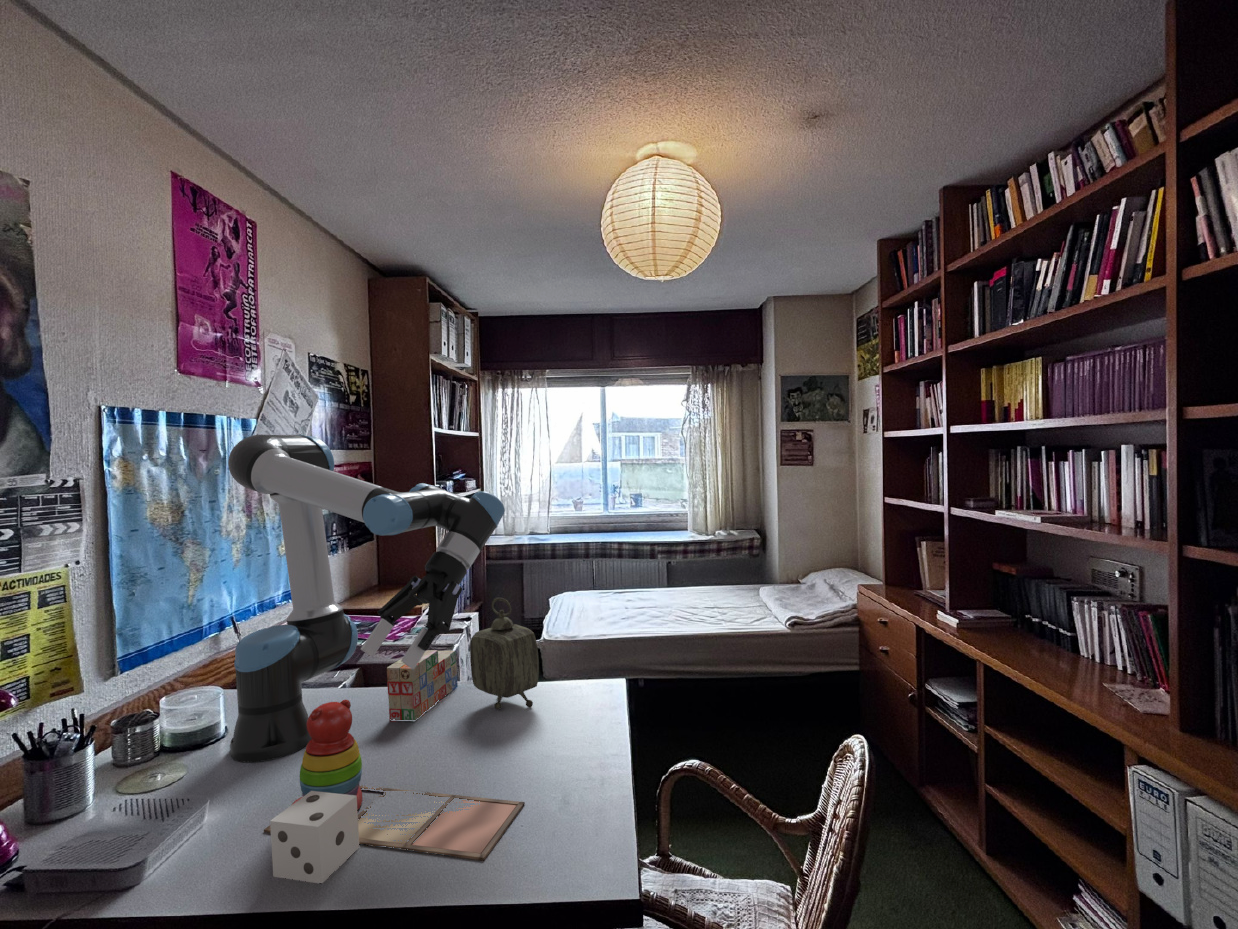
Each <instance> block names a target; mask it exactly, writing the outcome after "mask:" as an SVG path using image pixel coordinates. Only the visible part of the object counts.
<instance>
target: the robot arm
mask: <svg viewBox="0 0 1238 929" xmlns="http://www.w3.org/2000/svg"><path fill="white" fill-rule="evenodd" d="M231 449H232V450H230V453H229V456H228V460H227V466H228V470H229V473H230V475H231V477H232V478H233V479H234V481H235V482H236V483H237V484H239V485H240V486H241V487H244V488H246V489H249V490H250V491H254V492H258V493H260V494H263V495H269V498H270V499H271V500H273V501H274V502H276V503H277V505H278V507H279V516H280V523H281V530H282V531H281V532H282V538H283V539H282V540H283V546H284V553H285V557H286V558H285V559H286V561H285V562H286V567H287V574H288V582H289V587H290V588H289V589H290V596H291V603H292V611H291V612H290V614H289V615H288V616H287V618H286V624H278V625H272V626H269V627H267V628H260V629H258V630H256V631H253V632H251V633H248V635H245V636H244V637H243V638H241V639H240V640H239V641H238V642H237V644H236V646H235V650H234V655H235V656H234V658H235V659H234V664H233V666H234V670H235V679H236V681H235V682H236V696H237V697H236V698H237V712H238V714H237V719H236V721H235V722H236V723H235V726H234V729H233V736H232V738H231V739H230V743H229V750H230V751H229V753H230V758H231V759H232V760H233V761H236V762H241V763H260V762H265V761H270V760H275V759H279V758H282V757H286V756H288V755H291V754H293V753H296V752H297V751H299V750H302V749H303V748H306V746H307V744H308V743H309V741H310V740H311V739H312V738H311V736H310V735H309V733H308V730H307V720H308V718H309V715H308V712H307V709H306V707H305V704H304V702H303V688H302V684H303V683H304V682H306V681H308V680H310V679H313V678H314V677H317V676H319V675H322V674H324V673H326V672H328V671H332V670H335V669H337V668H339V666H341V665H342V664H345V663H346V662H347V661H348V660H350V659H351V657H352V656H353V654H354V653H355V651H356V648H357V647H358V640H359V632H358V628H357V625H356V623H355V622H354V621H352V618H351V617H350V616H349V615H347V614H345V613H344V607H343V606H342V605H340V604H339V603H337V602H336V601H335V595H334V587H333V580H332V572H331V566H330V557H329V551H328V544H327V536H326V529H325V520H324V514H323V510H327V511H329V512H331V513H335V514H338V515H341V516H343V517H347V518H350V519H352V520H355V521H358V522H361V523H364V525H365V526H366V528H367V529H368V530H369V532H370V533H372V534H374V535H377V536H395V535H399V534H401V533H405V532H406V533H407V532H411V531H414V530H419V529H424V528H430V527H436V528H437V527H438V528H440V529H442V530H446V531H448V532H447V533H446V534H445V535H444V537H443V538H442V540H441V541H440V543H439V544H438V545H437V547H436V551H434V552H433V553H432V554H431V556H430V557H429V559H428V560H427V562H426V564H425V565H424V570H425V571H426V572H425V575H424V576H423V577H422V578H419V577H418V576H417V575H413V576H412V577H411V578H410V580H409V581H408V582H407V583H406V585H405V586H403V587H402V588H401V589H400V590H399V591H398V592H397V593H396V594H394V596H392V597H391V598H390V599H389V600H388V601H387V602H386V603H385V604H384V605H383V606H382V607H381V608H379V610H377V615H378V616H379V617H380V620H379V621H378V622H377V624H376V626H375V627H374V628H373V629H372V631H371V633H370V634H369V635H368V637H367V639H366V640H365V642H364V643H363V644H362V646H360V650H361V651H362V652H364V653H365V654H366V655H368V656H369V657H372V658H374V656H375V655H376V653H377V652H378V650H379V648H380V647H381V646H382V644H383V643H384V641H385V640H386V639H387V637H388V635H389V634H390V633H391V631H392V629H393V628H394V627H395V622H397V621H398V620H399V619H401V618H402V617H403V616H405V615H406V614H407V613H409V612H411V611H412V610H413V609H414V608H416V607H417V606H418V607H419V606H422V605H428V611H427V612H428V613H427V622H426V623H425V624H423V625H424V627H422V628H421V629H420V631H419V632H418V634H417V635H416V637H415V638H414V640H413V642H412V643H411V645H410V646H409V648H408V649H407V651H406V652H405V653H404V655H403V657H402V658H401V659H402V660H401V661H402V662H403V663H404V664H406V665H407V666H408V667H410V668H411V669H415V667H416V665H417V664H418V662H419V661H420V659H421V658H422V656H423V654H424V653H425V651H426V650H429V648H430V647H431V645H432V643H433V642H434V640H435V638H436V637H437V636H440V634H442V633H443V634H444V635H445V634H448V633H449V631H450V629H451V625H452V622H453V618H454V614H455V610H456V607H457V603H458V600H459V599H458V598H460V595H461V593H462V592H463V587H462V586H460V585H461V583H462V581H463V580H464V578H465V577H466V575H467V573H468V572H467V570H470V568H471V566H473V564H474V563H475V561H476V559H477V557H478V556H479V554H480V553H481V551H482V549H483V547H484V546H485V545H486V544H487V542H488V540H489V539H490V537H491V536H492V534H493V533H494V531H495V530H496V529H497V528H498V526H499V524H500V522H501V520H502V518H503V517H504V515H505V511H506V509H505V506H504V504H503V502H502V501H501V499H500V498H498V497H497V496H495V495H494V494H492V493H490V492H488V491H484V490H482V491H481V490H478V491H476V492H475V493H474V494H473V495H472V496H471V497H470V498H468V497H466V496H461V495H459V494H456V493H453V492H450V491H448V490H446V489H443V488H440V487H438V486H437V485H431V484H427V483H424V482H422V483H418V484H417V483H416V485H415V486H414V487H412V488H411V489H409V491H405V492H400V491H396V490H393V489H389V488H387V487H383V486H380V485H378V484H374V483H372V482H368V481H364V480H362V479H359V478H355V477H352V476H349V475H346V474H343V473H340V472H336V471H334V470H335V459H334V455H333V453H332V450H331V449H330V447H329V445H328V444H327V443H325V442H324V441H323V440H321V439H320V438H319V437H316V436H312V435H304V434H302V433H301V434H255V435H250V436H247V437H245V438H243V439H242V440H240V441H238V442H237V443H236V444H235V445H234V446H233V447H232V448H231Z"/></svg>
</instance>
